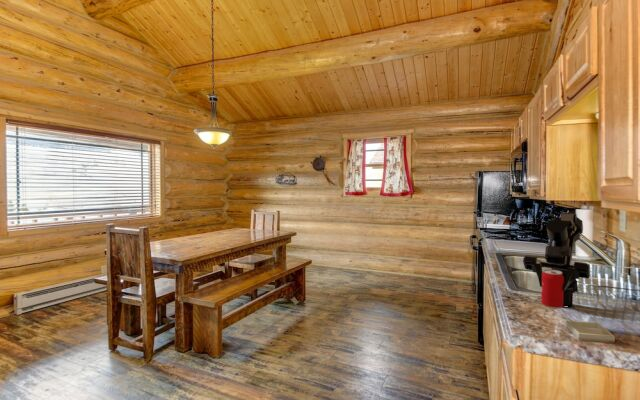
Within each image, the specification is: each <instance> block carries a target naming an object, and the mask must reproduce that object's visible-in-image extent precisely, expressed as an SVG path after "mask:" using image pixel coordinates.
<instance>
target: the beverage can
mask: <svg viewBox="0 0 640 400" xmlns="http://www.w3.org/2000/svg"><path fill="white" fill-rule="evenodd" d="M551 269H552V268H546V269H543V271H542V272H543V274H542V286H541V292H540V293H541V296H540V299H541V300H540V301H541V304H542V305H543V306H544V307H545V308H548V309H554V310H555V309H557V310H558V309H561V308H564V307H563V295H564V291H563V284H564V276H563V274H562V272H561V271H558V270H551Z"/></svg>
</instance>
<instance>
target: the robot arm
mask: <svg viewBox="0 0 640 400" xmlns="http://www.w3.org/2000/svg"><path fill="white" fill-rule="evenodd" d="M583 222H584V221H583V220H582V219H580V218H579V217H578V215H577V213H575V212H561V213H560V216H558V217H556V216H554V217H553V218H552V219H551V220H550V221H548V222H547V223H546V231H547V237H548V239H549V242H548V245H545V254H544V260H545V261H542V260H540V259H538V257H537V256H532V255H525V256H523V259H522V262H523V267H524V269H525V270H529V271H532V273H535V274H536V276H537V279H538V283H539V287H540V288H542V274H543V272H544V271H543V268H546V269H551V270H558V271H561V272H562V274H563V276H564V284H563V291H564V295H563V306H568V307H575V306H574V304H573V301H574V300H573V299H574V297H573V296H574V294H575V293H578V280H580V278H582V279H590V275H591V273H590V272H591V268H590V267H591V266H590V264H589V263H588V262H582V261H574V263H573V265H572V261H573V254H574V253H573V252H574V247H575V243H576V242H577V241H579V240H580V239H581V234H583V233H584V224H583ZM568 307H567V308H568ZM575 308H576V307H575Z"/></svg>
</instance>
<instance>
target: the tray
mask: <svg viewBox="0 0 640 400" xmlns="http://www.w3.org/2000/svg"><path fill="white" fill-rule="evenodd" d="M564 322H565V323H564V326H565V328H566V329H567V330H568V331H570V333H571V334H572V335H574V337H575V338H576V339H577V340H579V341H587V342H589V341H590V342H601V343H603V342H604V343H612V344H613V343H614V344H615V342H616V341H615V339H616V336H615V335H614V334H613V333H611V332H610V331H609V330H608V329H607V328H605V327H604V326H603V325H602V324H600V323H599V322H594V321H592V322H591V321H580V320H579V321H578V320H577V321H576V320H564Z"/></svg>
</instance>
